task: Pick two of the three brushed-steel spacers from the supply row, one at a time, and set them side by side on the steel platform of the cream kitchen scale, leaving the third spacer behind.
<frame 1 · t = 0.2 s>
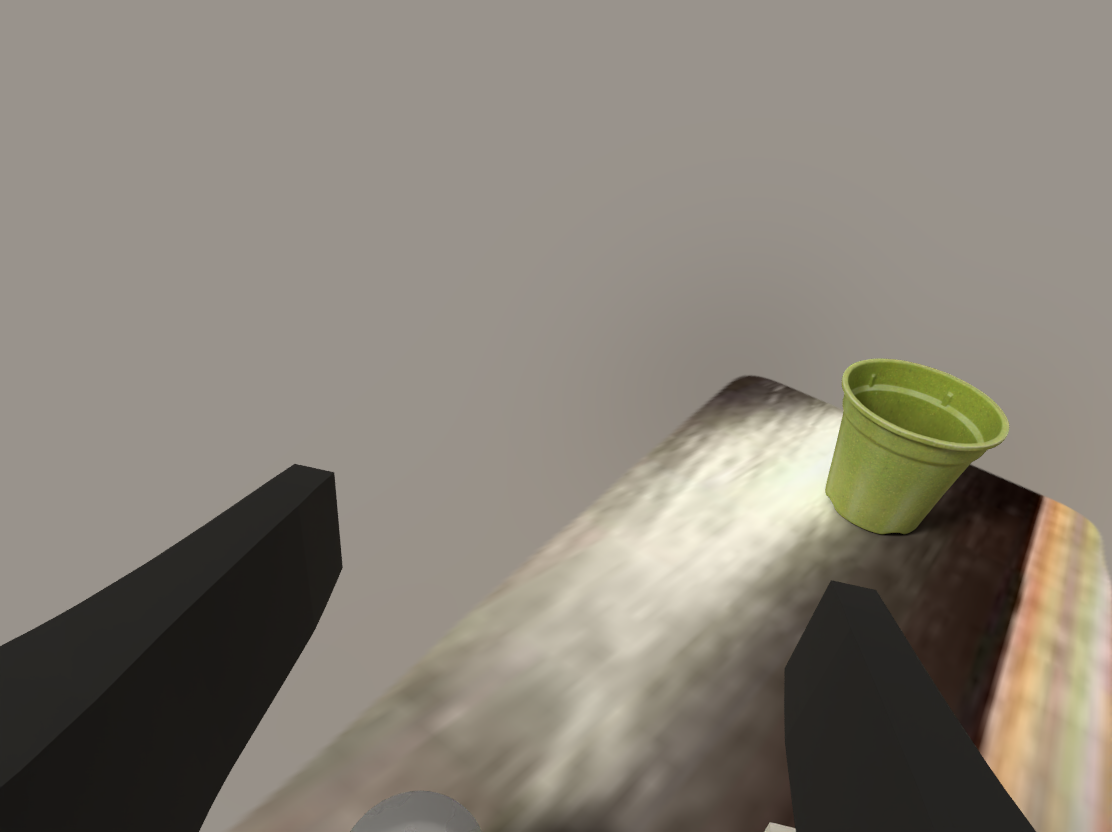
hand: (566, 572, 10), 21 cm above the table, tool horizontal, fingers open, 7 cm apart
plant pot: (869, 507, 47), on the table
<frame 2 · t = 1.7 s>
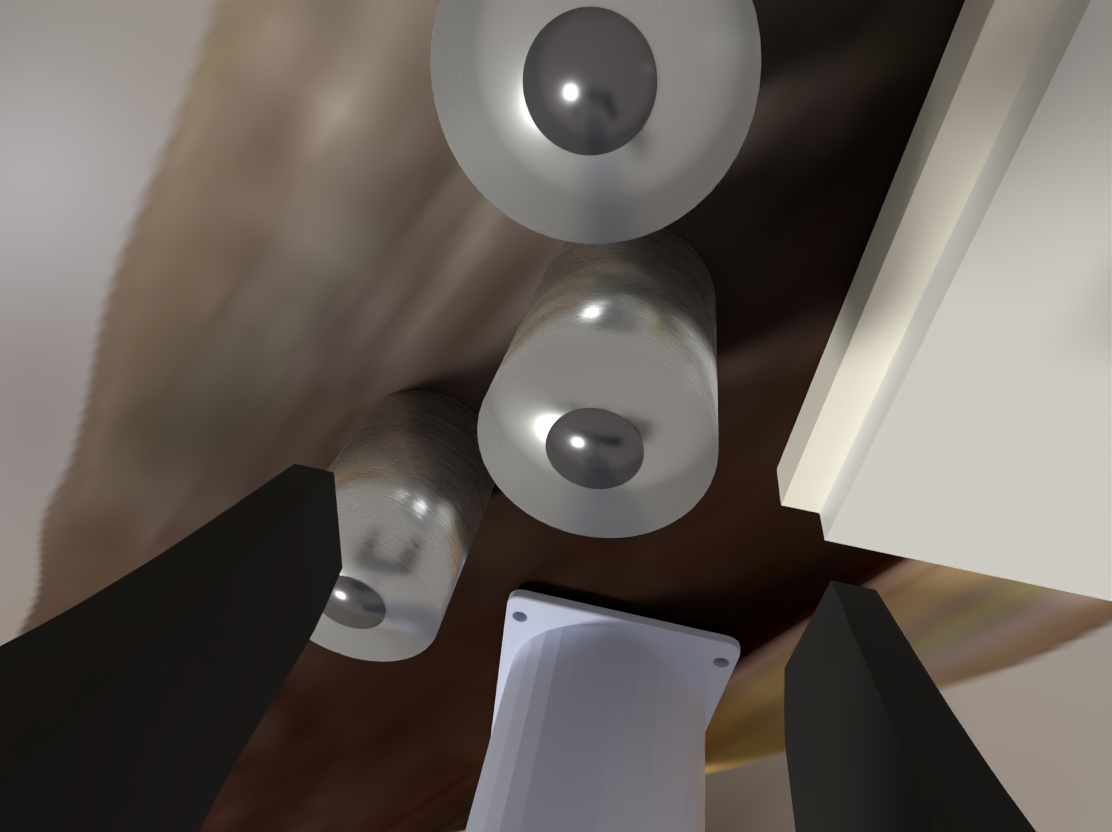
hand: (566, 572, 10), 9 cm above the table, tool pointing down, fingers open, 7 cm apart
spacer 2: (630, 32, 14), on the table
spacer 1: (626, 306, 18), on the table
spacer 3: (431, 450, 21), on the table
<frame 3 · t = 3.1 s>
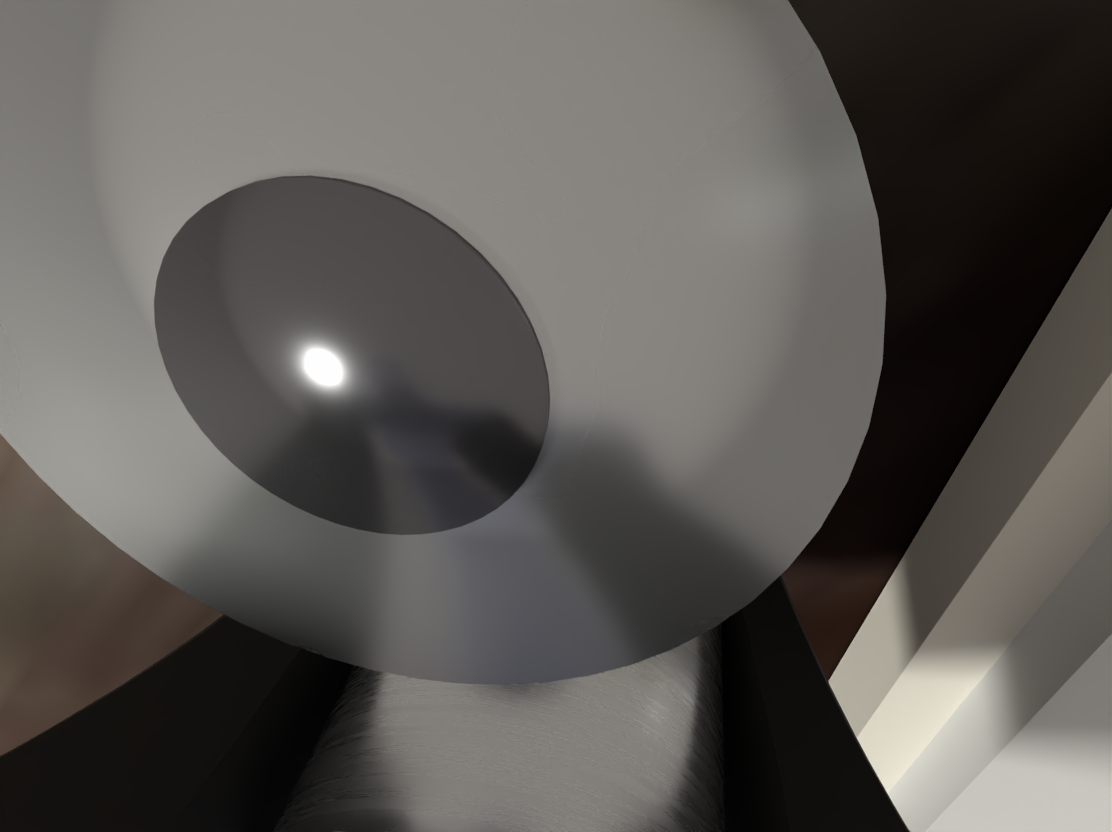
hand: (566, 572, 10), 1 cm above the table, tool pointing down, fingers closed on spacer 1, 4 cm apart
spacer 2: (569, 107, 8), on the table
spacer 1: (581, 507, 11), on the table, touching gripper
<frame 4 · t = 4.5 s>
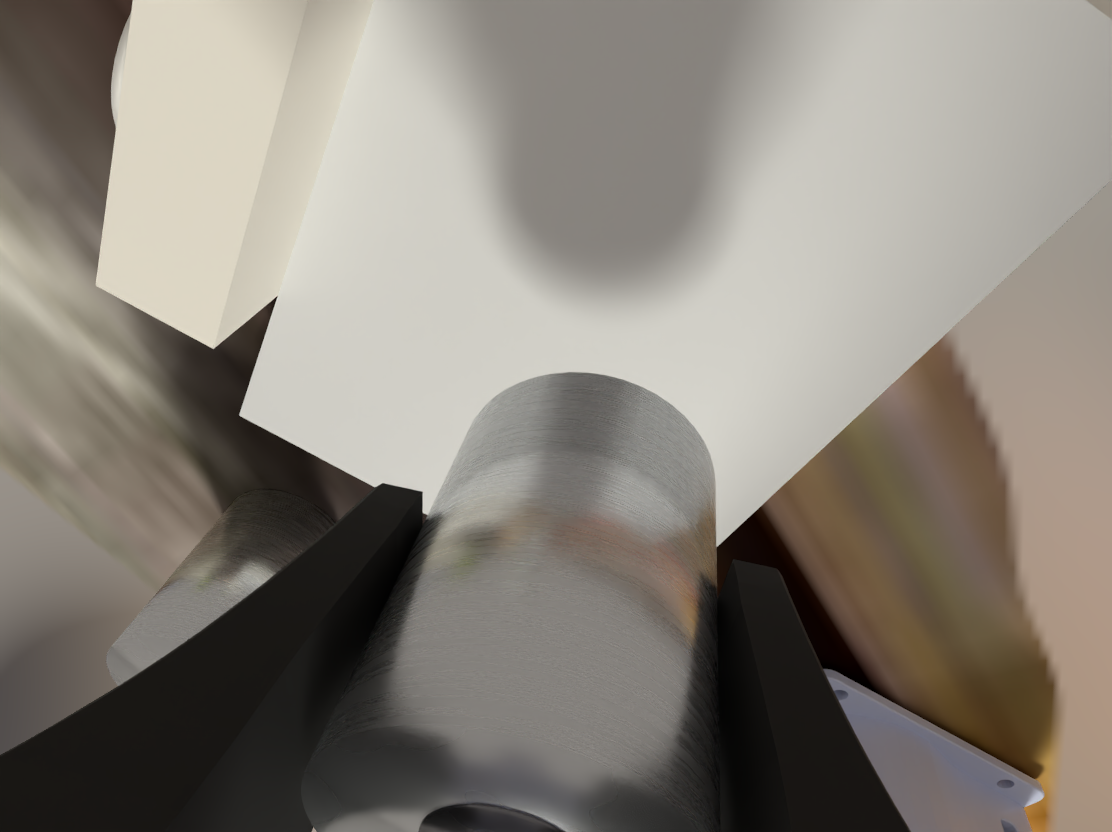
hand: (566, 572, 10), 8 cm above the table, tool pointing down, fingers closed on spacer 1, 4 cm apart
spacer 2: (288, 538, 24), on the table
spacer 1: (585, 481, 12), point 6 cm above the table, touching gripper
scale: (611, 250, 16), on the table
when the fingers open (5 cm above the table, at t = 6.0 s): spacer 1 stays where it is, resting on scale.
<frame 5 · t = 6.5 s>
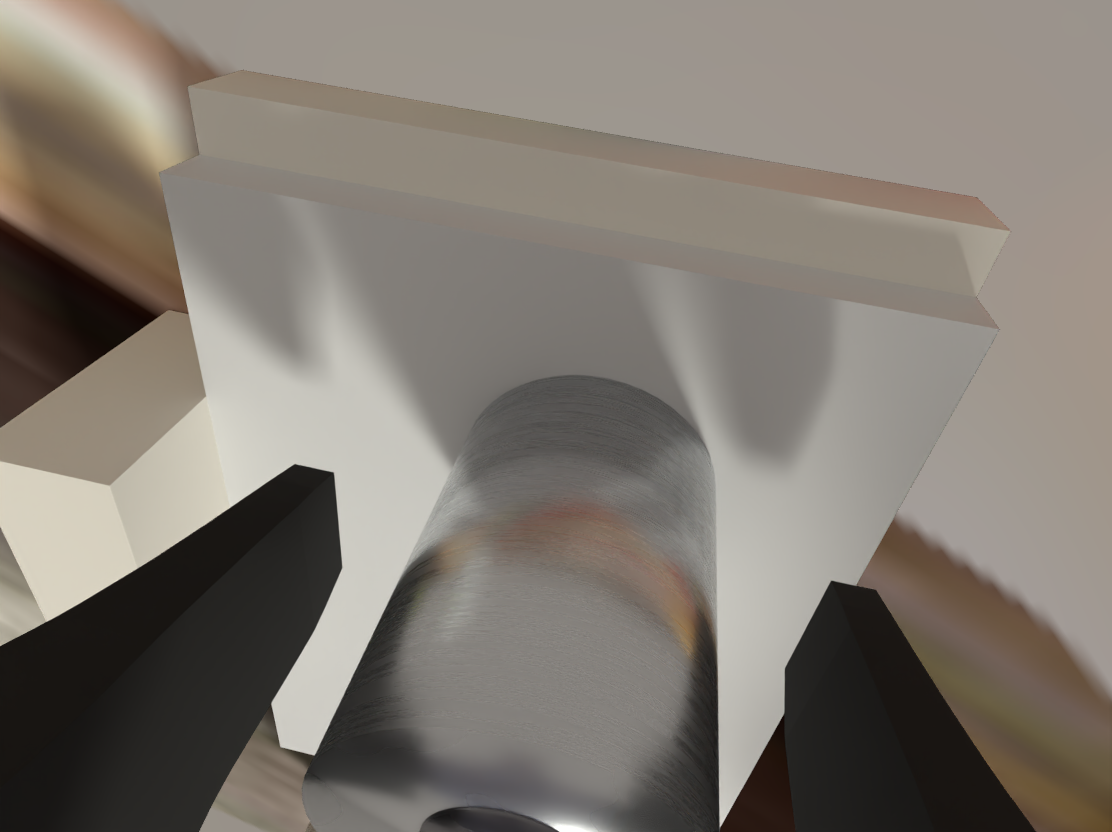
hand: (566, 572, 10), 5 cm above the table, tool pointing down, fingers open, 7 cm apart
spacer 1: (585, 483, 12), point 2 cm above the table, touching scale
scale: (536, 528, 16), on the table
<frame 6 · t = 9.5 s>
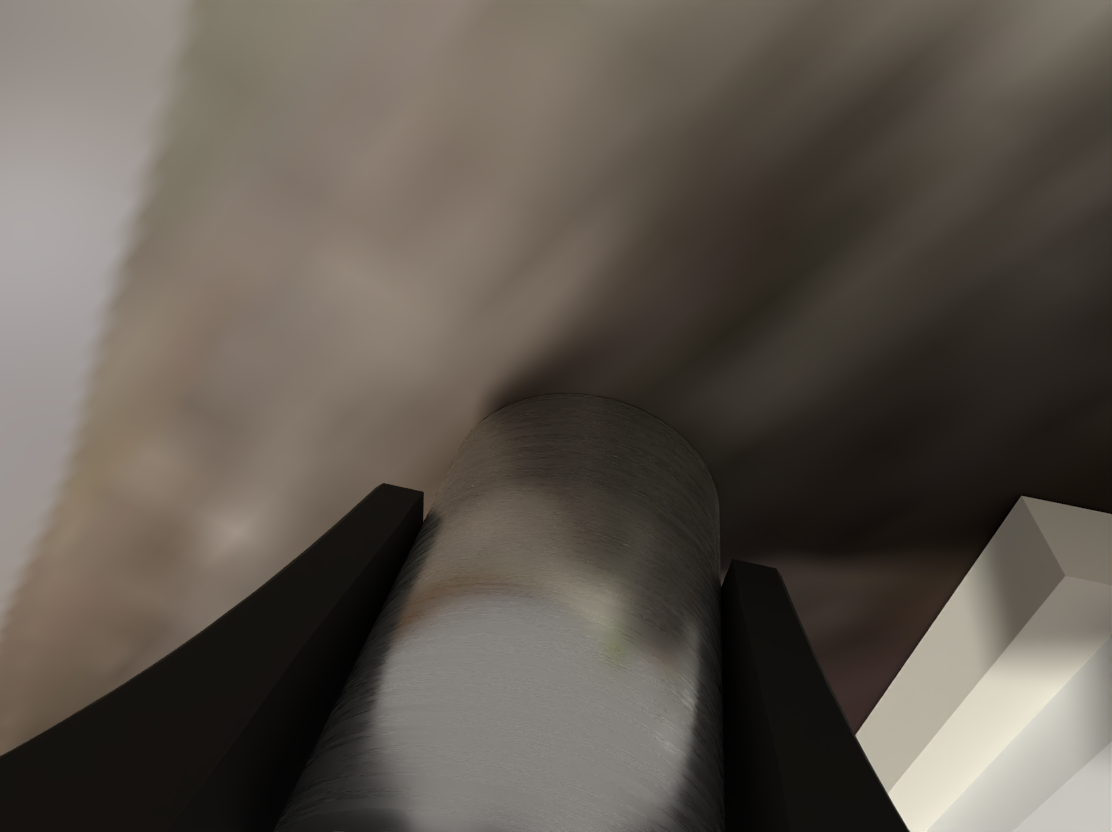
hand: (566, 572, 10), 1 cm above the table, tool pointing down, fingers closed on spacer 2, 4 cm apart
spacer 2: (581, 507, 11), on the table, touching gripper
when the fingers open (5 cm above the table, at t = 12.0 s): spacer 2 stays where it is, resting on scale.
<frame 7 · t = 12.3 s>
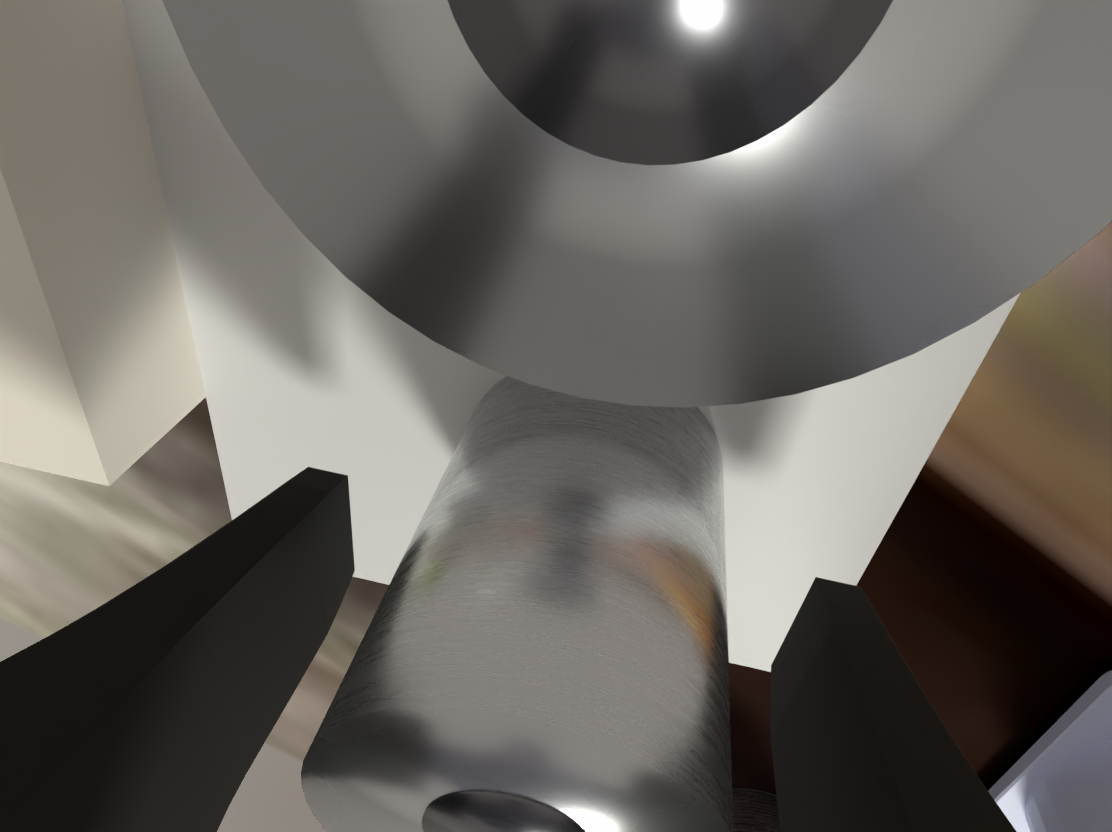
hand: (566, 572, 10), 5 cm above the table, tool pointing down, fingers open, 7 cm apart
spacer 2: (590, 468, 12), point 2 cm above the table, touching scale
spacer 3: (745, 824, 22), on the table
scale: (585, 193, 12), on the table
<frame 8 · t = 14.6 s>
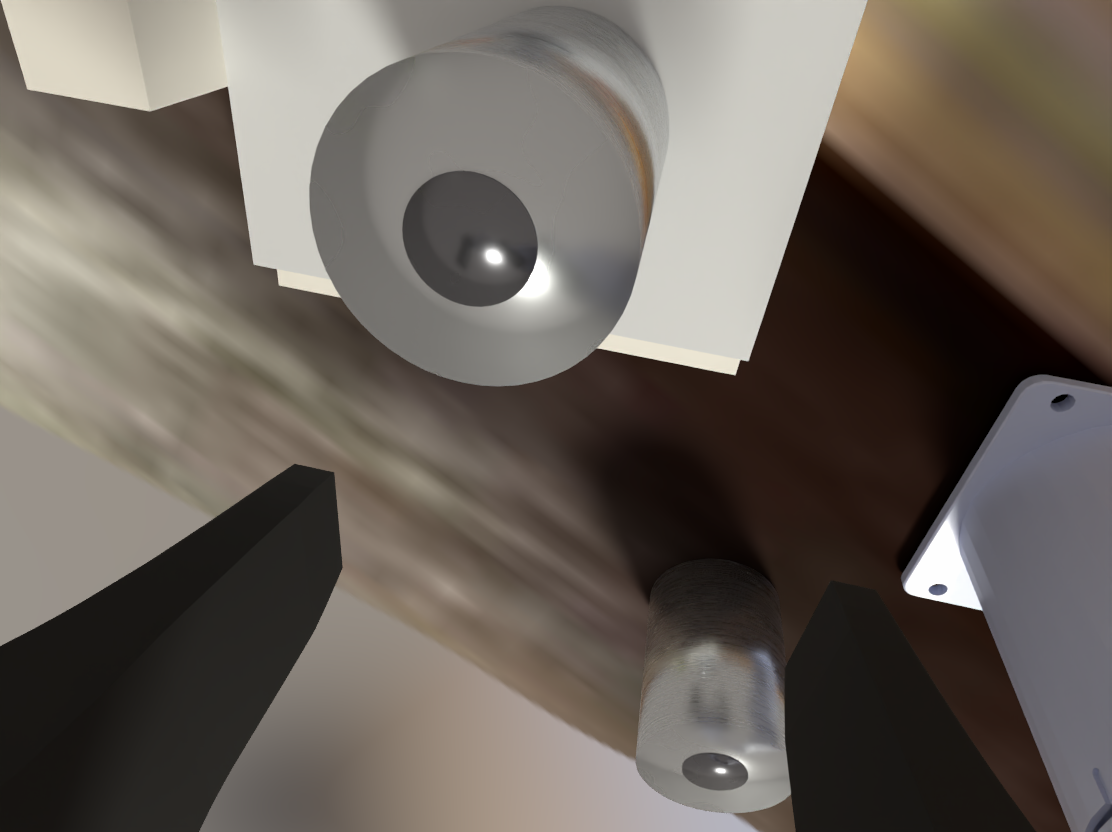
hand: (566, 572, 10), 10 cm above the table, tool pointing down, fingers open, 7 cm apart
spacer 2: (557, 133, 14), point 3 cm above the table, touching scale
spacer 3: (713, 603, 24), on the table
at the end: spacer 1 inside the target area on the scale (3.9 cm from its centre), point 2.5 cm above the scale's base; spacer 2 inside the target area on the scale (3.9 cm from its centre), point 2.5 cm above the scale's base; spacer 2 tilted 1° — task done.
